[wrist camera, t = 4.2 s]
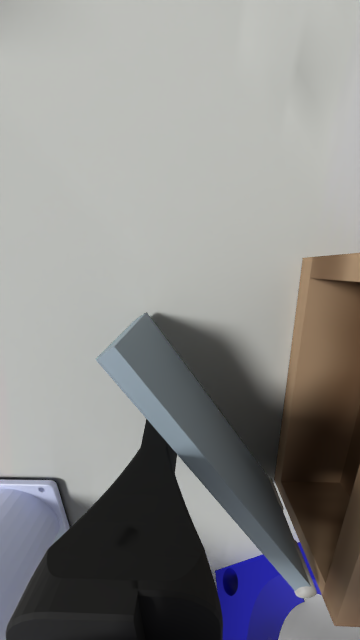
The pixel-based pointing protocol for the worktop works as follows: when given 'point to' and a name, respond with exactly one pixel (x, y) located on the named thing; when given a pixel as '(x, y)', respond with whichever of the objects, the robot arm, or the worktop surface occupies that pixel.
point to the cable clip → (255, 599)
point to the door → (204, 442)
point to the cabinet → (325, 430)
